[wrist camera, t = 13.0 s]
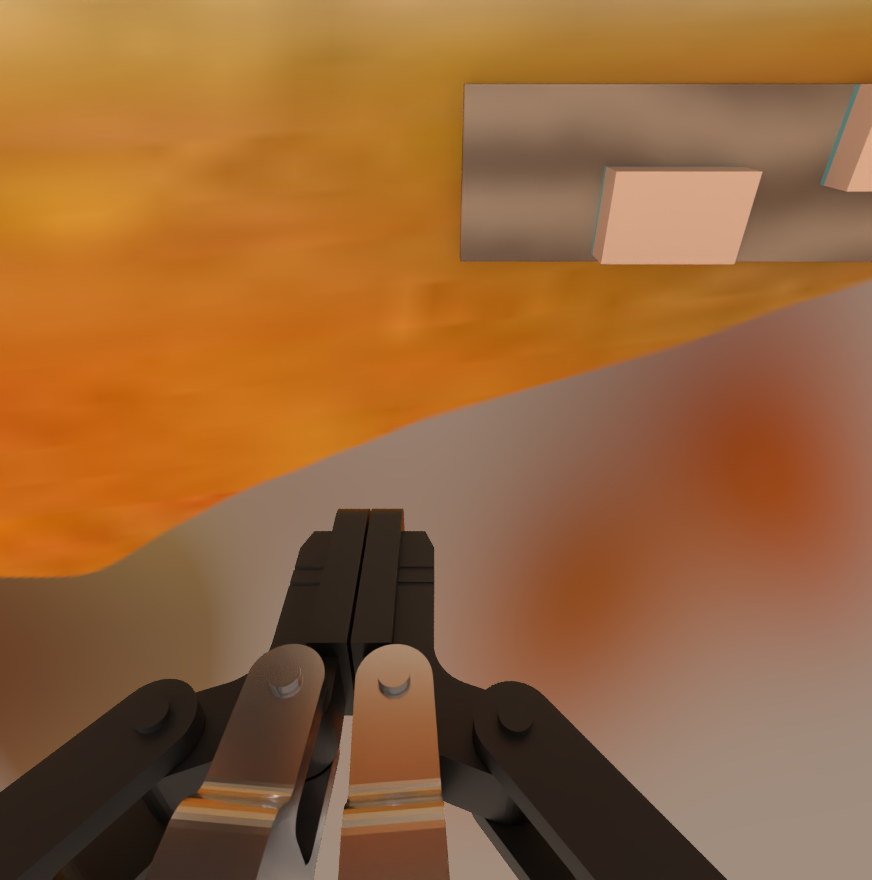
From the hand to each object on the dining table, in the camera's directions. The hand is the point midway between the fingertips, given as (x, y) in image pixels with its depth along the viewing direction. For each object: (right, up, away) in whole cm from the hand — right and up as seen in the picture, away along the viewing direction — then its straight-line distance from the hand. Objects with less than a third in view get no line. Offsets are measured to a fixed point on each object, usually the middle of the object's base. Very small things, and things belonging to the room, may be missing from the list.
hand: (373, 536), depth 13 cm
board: (+17, +18, +20) cm, 32 cm away
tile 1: (+11, +16, +19) cm, 27 cm away
